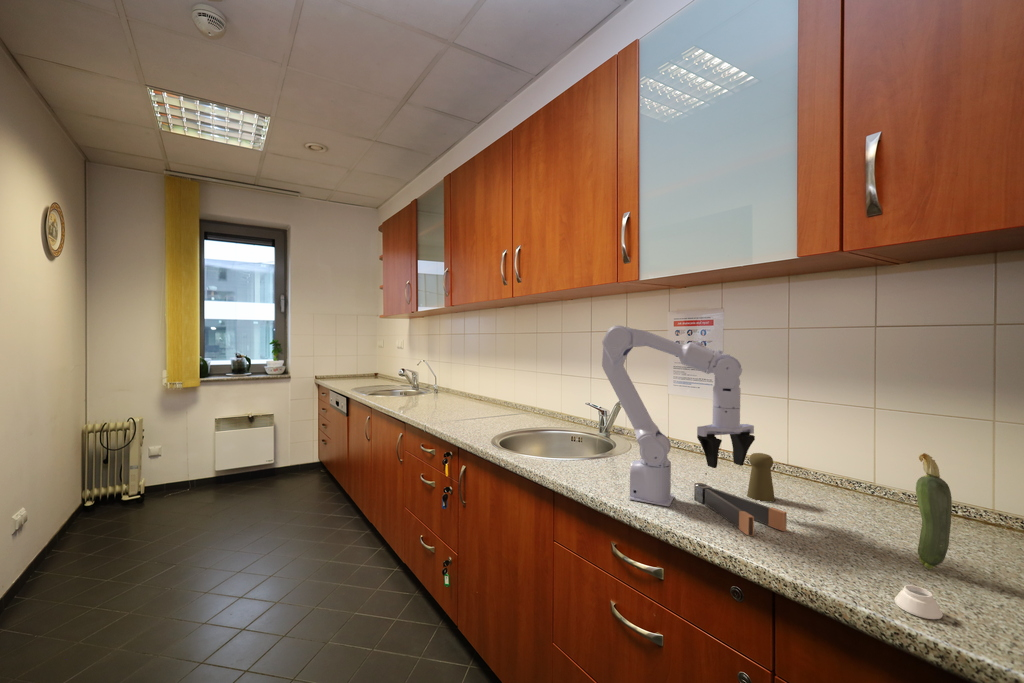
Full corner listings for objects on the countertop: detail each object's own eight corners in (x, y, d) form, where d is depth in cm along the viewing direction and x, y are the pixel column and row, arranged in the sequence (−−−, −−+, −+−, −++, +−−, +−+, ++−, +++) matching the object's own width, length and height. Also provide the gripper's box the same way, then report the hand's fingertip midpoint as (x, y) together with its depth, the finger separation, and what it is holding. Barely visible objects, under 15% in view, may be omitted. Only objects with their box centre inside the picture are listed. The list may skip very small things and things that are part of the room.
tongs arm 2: (710, 503, 104) (710, 488, 104) (713, 502, 104) (713, 487, 104) (783, 531, 89) (783, 513, 89) (786, 530, 89) (786, 512, 89)
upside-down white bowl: (890, 607, 64) (936, 626, 60) (890, 587, 64) (936, 605, 60) (901, 597, 67) (946, 614, 62) (901, 577, 67) (946, 593, 62)
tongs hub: (691, 498, 108) (691, 483, 108) (701, 497, 108) (701, 482, 108) (702, 504, 104) (702, 488, 104) (712, 503, 105) (712, 487, 105)
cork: (778, 502, 106) (779, 457, 106) (751, 500, 107) (752, 456, 107) (769, 494, 111) (769, 451, 112) (743, 492, 113) (744, 450, 113)
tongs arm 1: (703, 504, 104) (704, 488, 104) (708, 503, 104) (708, 488, 104) (747, 535, 87) (748, 517, 87) (753, 535, 87) (753, 516, 87)
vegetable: (949, 570, 74) (950, 453, 74) (952, 580, 71) (953, 458, 71) (914, 561, 77) (915, 449, 77) (915, 570, 74) (916, 453, 74)
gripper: (713, 410, 94) (712, 473, 94) (765, 408, 99) (764, 468, 99) (691, 406, 101) (690, 464, 101) (740, 404, 106) (739, 460, 105)
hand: (725, 465), depth 100 cm, fingers open, 7 cm apart
